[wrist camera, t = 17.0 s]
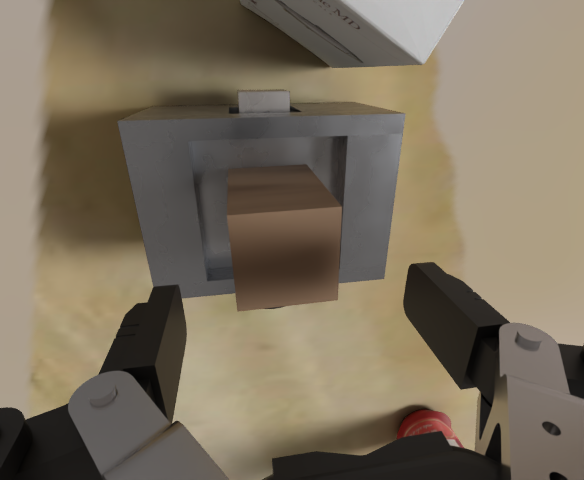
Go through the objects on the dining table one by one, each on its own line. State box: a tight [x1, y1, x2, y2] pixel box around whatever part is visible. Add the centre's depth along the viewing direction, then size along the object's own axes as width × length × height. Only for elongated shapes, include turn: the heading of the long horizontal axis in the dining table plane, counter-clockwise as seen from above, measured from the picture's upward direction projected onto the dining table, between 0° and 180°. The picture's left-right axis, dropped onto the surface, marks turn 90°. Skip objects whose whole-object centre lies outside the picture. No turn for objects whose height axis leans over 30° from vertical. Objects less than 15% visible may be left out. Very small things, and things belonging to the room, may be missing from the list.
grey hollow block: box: [117, 102, 405, 298], centre depth 22 cm, size 10×14×8 cm
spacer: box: [227, 164, 342, 311], centre depth 17 cm, size 4×4×7 cm
